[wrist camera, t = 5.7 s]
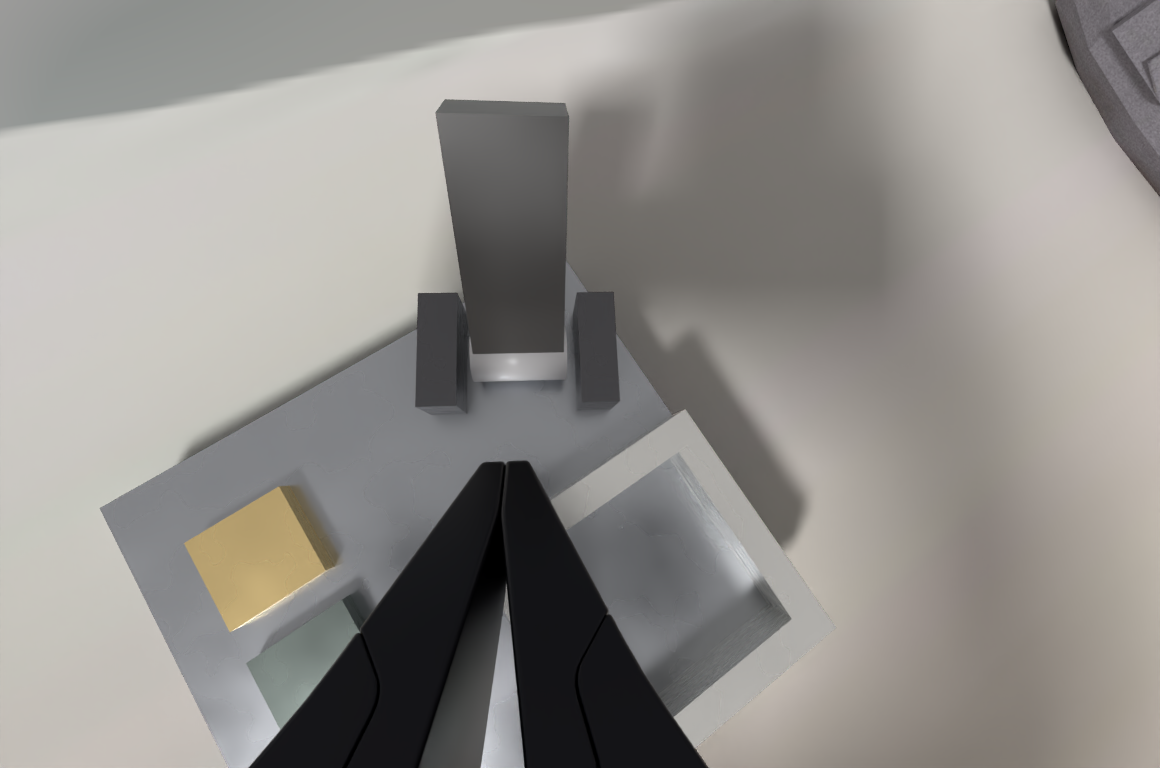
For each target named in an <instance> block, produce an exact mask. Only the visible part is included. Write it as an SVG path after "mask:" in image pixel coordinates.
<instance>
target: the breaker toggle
mask: <svg viewBox="0 0 1160 768" xmlns="http://www.w3.org/2000/svg"><path fill="white" fill-rule="evenodd" d="M436 119H437V126H438V132H439V139H440V145H441V152H442V158H443V165H444V171H445V178H446V184H447V191H448V197H449V204H450V210H451V216H452V223H453V229H454V236H455V242H456V249H457V255H458V262H459V268H460V275H461V281H462V288H463V294H464V301H465V307H466V314H467V320H468V327H469V333H470V340H469V356H470V368H471V375H472V379H473V381H474V382H491V381H530V380H566V378H567V338H566V327H565V325H564V322H565V276H566V229H567V182H568V135H569V115H568V112H567V108H566V105H565V103H543V102H511V101H478V100H446V99H445V100H444V101H443V103H442V104H441V106H440V107H439V108H438V110H437V111H436Z"/></svg>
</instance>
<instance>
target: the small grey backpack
mask: <svg viewBox="0 0 1160 768" xmlns="http://www.w3.org/2000/svg"><path fill="white" fill-rule="evenodd" d="M1055 5H1056V8H1057V11H1058V14H1059V17H1060V20H1061V23H1062V26H1063V29H1064V33H1065V36H1066V39H1067V42H1068V45H1069V48H1070V51H1071V54H1072V57H1073V60H1074V63H1075V67H1076V70H1077V72H1078V74H1079V76H1080V78H1081V80H1082V82H1083V84H1084V86H1085V87H1086V89H1087V91H1088V93H1089V95H1090V96H1091V98H1092V100H1093V102H1094V104H1095V105H1096V107H1097V109H1098V111H1099V113H1100V115H1101V116H1102V118H1103V120H1104V122H1105V124H1106V125H1107V127H1108V129H1109V131H1110V133H1111V134H1112V136H1113V138H1114V139H1115V141H1116V142H1117V143H1118V145H1119V146H1120V147H1121V148H1122V150H1123V151H1124V152H1125V153H1126V155H1127V156H1128V157H1129V158H1130V160H1131V161H1132V162H1133V163H1134V165H1135V166H1136V167H1137V168H1138V170H1139V171H1140V172H1141V174H1142V175H1143V176H1144V177H1145V179H1146V180H1147V181H1148V182H1149V184H1150V185H1151V186H1152V187H1153V189H1154V190H1155V191H1156V192H1157V193H1158V195H1159V196H1160V0H1056V2H1055Z"/></svg>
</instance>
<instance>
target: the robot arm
mask: <svg viewBox="0 0 1160 768" xmlns="http://www.w3.org/2000/svg"><path fill="white" fill-rule="evenodd" d="M506 584H507V594H508V605H509V615H510V625H511V635H512V645H513V656H514V666H515V676H516V686H517V696H518V706H519V717H520V727H521V737H522V747H523V757H524V768H708V766H707V765H706V763H705V762H704V760H703V759H702V758H701V756H700V755H699V753H698V752H697V750H696V749H695V748H694V746H693V745H692V743H691V742H690V740H689V739H688V737H687V736H686V735H685V733H684V732H683V730H682V729H681V727H680V726H679V724H678V723H677V722H676V720H675V719H674V717H673V716H672V714H671V713H670V712H669V710H668V709H667V707H666V705H665V704H664V702H663V701H662V699H661V698H660V696H659V695H658V693H657V692H656V690H655V689H654V687H653V686H652V684H651V683H650V681H649V679H648V678H647V676H646V675H645V673H644V672H643V670H642V668H641V667H640V665H639V663H638V661H637V660H636V658H635V656H634V654H633V653H632V651H631V649H630V648H629V646H628V644H627V642H626V641H625V639H624V637H623V635H622V633H621V631H620V630H619V628H618V626H617V624H616V622H615V620H614V618H613V617H612V615H611V614H609V610H608V608H607V606H606V604H605V602H604V600H603V598H602V596H601V595H600V593H599V591H598V589H597V587H596V585H595V583H594V582H593V580H592V578H591V576H590V574H589V572H588V570H587V568H586V567H585V565H584V563H583V561H582V559H581V557H580V555H579V553H578V552H577V550H576V548H575V546H574V544H573V542H572V540H571V538H570V537H569V535H568V533H567V531H566V529H565V527H564V525H563V523H562V522H561V520H560V518H559V516H558V514H557V512H556V510H555V509H554V507H553V505H552V503H551V501H550V499H549V497H548V495H547V494H546V492H545V490H544V488H543V486H542V484H541V482H540V480H539V479H538V477H537V475H536V473H535V471H534V469H533V467H532V465H531V464H530V462H529V461H527V460H519V461H508V462H507V463H506V465H505V463H504V462H503V461H495V462H483V463H481V464H480V466H479V467H478V468H477V470H476V471H475V472H474V474H473V475H472V476H471V478H470V479H469V481H468V482H467V483H466V485H465V486H464V487H463V489H462V490H461V491H460V493H459V494H458V495H457V497H456V498H455V500H454V501H453V502H452V504H451V505H450V506H449V508H448V509H447V510H446V512H445V513H444V515H443V516H442V517H441V519H440V520H439V521H438V523H437V524H436V525H435V527H434V528H433V529H432V531H431V532H430V534H429V535H428V536H427V538H426V539H425V540H424V542H423V543H422V544H421V546H420V547H419V549H418V550H417V551H416V553H415V554H414V555H413V557H412V558H411V559H410V561H409V562H408V563H407V565H406V566H405V568H404V569H403V570H402V572H401V573H400V574H399V576H398V577H397V578H396V580H395V581H394V583H393V584H392V585H391V587H390V588H389V589H388V591H387V592H386V593H385V595H384V596H383V597H382V599H381V600H380V602H379V603H378V604H377V606H376V607H375V608H374V610H373V611H372V612H371V614H370V615H369V617H368V618H367V619H366V621H365V622H364V623H363V625H362V626H361V628H360V632H361V633H356V634H355V635H354V636H353V638H352V639H351V641H350V642H349V643H348V645H347V646H346V647H345V649H344V650H343V652H342V653H341V654H340V656H339V657H338V658H337V660H336V661H335V662H334V664H333V665H332V666H331V668H330V669H329V670H328V671H327V673H326V674H325V675H324V677H323V678H322V679H321V681H320V682H319V683H318V684H317V686H316V687H315V688H314V690H313V691H312V692H311V693H310V695H309V696H308V697H307V699H306V700H305V701H304V702H303V704H302V705H301V706H300V707H299V708H298V710H297V711H296V712H295V713H294V714H293V715H292V717H291V718H290V719H289V720H288V721H287V723H286V724H285V725H284V726H283V727H282V729H281V730H280V731H279V732H278V733H277V734H276V736H275V737H274V738H273V739H272V740H271V742H270V743H269V744H268V745H267V746H266V748H265V749H264V750H263V751H262V752H261V753H260V754H259V756H258V757H257V758H256V759H255V760H254V761H253V763H252V764H251V765H250V766H249V767H248V768H481V762H482V755H483V748H484V741H485V734H486V727H487V720H488V713H489V706H490V699H491V692H492V685H493V678H494V671H495V664H496V657H497V650H498V643H499V636H500V629H501V622H502V615H503V608H504V601H505V593H506Z"/></svg>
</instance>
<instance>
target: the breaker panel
mask: <svg viewBox="0 0 1160 768" xmlns="http://www.w3.org/2000/svg"><path fill="white" fill-rule="evenodd" d="M564 325H565V327H566V338H567V378H566V380H530V381H491V382H474V381H473V379H472V375H471V368H470V356H469V340H470V333H469V327H468V320H467V314H466V307H465V302H463V303H462V302H461V300H460V298H459V296H458V294H457V293H418V317H417V329H416V330H414V331H412V332H410V333H409V334H407V335H405V336H403V337H401V338H400V339H398V340H396V341H394V342H393V343H391V344H389V345H387V346H386V347H384V348H382V349H380V350H378V351H377V352H375V353H373V354H371V355H370V356H368V357H366V358H364V359H363V360H361V361H359V362H357V363H356V364H354V365H352V366H350V367H348V368H347V369H345V370H343V371H341V372H340V373H338V374H336V375H334V376H333V377H331V378H329V379H327V380H325V381H324V382H322V383H320V384H318V385H317V386H315V387H313V388H311V389H310V390H308V391H306V392H304V393H302V394H301V395H299V396H297V397H295V398H294V399H292V400H290V401H288V402H287V403H285V404H283V405H281V406H280V407H278V408H276V409H274V410H272V411H271V412H269V413H267V414H265V415H264V416H262V417H260V418H258V419H257V420H255V421H253V422H251V423H249V424H248V425H246V426H244V427H242V428H241V429H239V430H237V431H235V432H234V433H232V434H230V435H228V436H227V437H225V438H223V439H221V440H219V441H218V442H216V443H214V444H212V445H211V446H209V447H207V448H205V449H204V450H202V451H200V452H198V453H196V454H195V455H193V456H191V457H189V458H188V459H186V460H184V461H182V462H181V463H179V464H177V465H175V466H173V467H172V468H170V469H168V470H166V471H165V472H163V473H161V474H159V475H158V476H156V477H154V478H152V479H151V480H149V481H147V482H145V483H143V484H142V485H140V486H138V487H136V488H135V489H133V490H131V491H129V492H128V493H126V494H124V495H122V496H120V497H119V498H117V499H115V500H113V501H112V502H110V503H108V504H106V505H105V506H103V507H101V508H100V510H101V512H102V514H103V516H104V518H105V520H106V522H107V524H108V526H109V528H110V530H111V532H112V534H113V536H114V538H115V540H116V542H117V544H118V546H119V548H120V550H121V552H122V554H123V556H124V558H125V560H126V562H127V564H128V566H129V568H130V570H131V572H132V574H133V576H134V578H135V580H136V582H137V584H138V586H139V588H140V590H141V592H142V594H143V596H144V598H145V600H146V602H147V604H148V606H149V609H150V611H151V613H152V615H153V617H154V619H155V621H156V623H157V625H158V627H159V629H160V631H161V633H162V635H163V637H164V639H165V641H166V643H167V645H168V647H169V649H170V651H171V653H172V655H173V657H174V659H175V661H176V663H177V665H178V667H179V669H180V671H181V673H182V675H183V677H184V679H185V681H186V683H187V685H188V687H189V689H190V691H191V693H192V695H193V697H194V699H195V701H196V703H197V705H198V707H199V709H200V711H201V713H202V715H203V717H204V719H205V721H206V723H207V725H208V727H209V729H210V731H211V733H212V735H213V737H214V739H215V741H216V743H217V745H218V747H219V749H220V751H221V753H222V755H223V758H224V760H225V762H226V764H227V766H228V768H248V767H249V766H250V765H251V764H252V763H253V761H254V760H255V759H256V758H257V757H258V756H259V754H260V753H261V752H262V751H263V750H264V749H265V748H266V746H267V745H268V744H269V743H270V742H271V740H272V739H273V738H274V737H275V736H276V734H277V733H278V732H279V731H280V730H281V729H282V727H283V726H284V725H285V724H286V723H287V721H288V720H289V719H290V718H291V717H292V715H293V714H294V713H295V712H296V711H297V710H298V708H299V707H300V706H301V705H302V704H303V702H304V701H305V700H306V699H307V697H308V696H309V695H310V693H311V692H312V691H313V690H314V688H315V687H316V686H317V684H318V683H319V682H320V681H321V679H322V678H323V677H324V675H325V674H326V673H327V671H328V670H329V669H330V668H331V666H332V665H333V664H334V662H335V661H336V660H337V658H338V657H339V656H340V654H341V653H342V652H343V650H344V649H345V647H346V646H347V645H348V643H349V642H350V641H351V639H352V638H353V636H354V635H355V634H356V633H361V632H360V628H361V626H362V625H363V623H364V622H365V621H366V619H367V618H368V617H369V615H370V614H371V612H372V611H373V610H374V608H375V607H376V606H377V604H378V603H379V602H380V600H381V599H382V597H383V596H384V595H385V593H386V592H387V591H388V589H389V588H390V587H391V585H392V584H393V583H394V581H395V580H396V578H397V577H398V576H399V574H400V573H401V572H402V570H403V569H404V568H405V566H406V565H407V563H408V562H409V561H410V559H411V558H412V557H413V555H414V554H415V553H416V551H417V550H418V549H419V547H420V546H421V544H422V543H423V542H424V540H425V539H426V538H427V536H428V535H429V534H430V532H431V531H432V529H433V528H434V527H435V525H436V524H437V523H438V521H439V520H440V519H441V517H442V516H443V515H444V513H445V512H446V510H447V509H448V508H449V506H450V505H451V504H452V502H453V501H454V500H455V498H456V497H457V495H458V494H459V493H460V491H461V490H462V489H463V487H464V486H465V485H466V483H467V482H468V481H469V479H470V478H471V476H472V475H473V474H474V472H475V471H476V470H477V468H478V467H479V466H480V464H481V463H483V462H495V461H503V462H504V463H505V465H506V463H507V462H508V461H519V460H527V461H529V462H530V464H531V465H532V467H533V469H534V471H535V473H536V475H537V477H538V479H539V480H540V482H541V484H542V486H543V488H544V490H545V492H546V494H547V495H548V497H549V499H550V501H551V503H552V505H553V507H554V509H555V510H556V512H557V514H558V516H559V518H560V520H561V522H562V523H563V525H564V527H565V529H566V531H567V533H568V535H569V537H570V538H571V540H572V542H573V544H574V546H575V548H576V550H577V552H578V553H579V555H580V557H581V559H582V561H583V563H584V565H585V567H586V568H587V570H588V572H589V574H590V576H591V578H592V580H593V582H594V583H595V585H596V587H597V589H598V591H599V593H600V595H601V596H602V598H603V600H604V602H605V604H606V606H607V608H608V610H609V614H611V615H612V617H613V618H614V620H615V622H616V624H617V626H618V628H619V630H620V631H621V633H622V635H623V637H624V639H625V641H626V642H627V644H628V646H629V648H630V649H631V651H632V653H633V654H634V656H635V658H636V660H637V661H638V663H639V665H640V667H641V668H642V670H643V672H644V673H645V675H646V676H647V678H648V679H649V681H650V683H651V684H652V686H653V687H654V689H655V690H656V692H657V693H658V695H659V696H660V698H661V699H662V701H663V702H664V704H665V705H666V707H667V709H668V710H669V712H670V713H671V714H672V716H673V717H674V719H675V720H676V722H677V723H678V724H679V726H680V727H681V729H682V730H683V732H684V733H685V735H686V736H687V737H688V739H689V740H690V742H691V743H692V745H693V746H694V748H696V747H697V746H698V745H699V744H701V743H702V742H703V741H704V740H705V739H706V738H708V737H709V736H710V735H711V734H712V733H713V732H715V731H716V730H717V729H718V728H719V727H721V726H722V725H723V724H724V723H725V722H726V721H728V720H729V719H730V718H731V717H732V716H733V715H735V714H736V713H737V712H738V711H739V710H740V709H742V708H743V707H744V706H745V705H746V704H747V703H749V702H750V701H751V700H752V699H753V698H755V697H756V696H757V695H758V694H759V693H760V692H762V691H763V690H764V689H765V688H766V687H767V686H769V685H770V684H771V683H772V682H773V681H774V680H776V679H777V678H778V677H779V676H780V675H781V674H783V673H784V672H785V671H786V670H787V669H789V668H790V667H791V666H792V665H793V664H794V663H796V662H797V661H798V660H799V659H800V658H801V657H803V656H804V655H805V654H806V653H807V652H808V651H810V650H811V649H812V648H813V647H814V646H815V645H817V644H818V643H819V642H820V641H821V640H822V639H824V638H825V637H826V636H827V635H828V634H830V633H831V632H832V631H833V630H834V629H835V628H836V626H835V625H834V624H833V622H832V621H831V619H830V618H829V616H828V615H827V613H826V612H825V611H824V609H823V608H822V606H821V605H820V603H819V602H818V600H817V599H816V597H815V596H814V595H813V593H812V592H811V590H810V589H809V587H808V586H807V584H806V583H805V582H804V580H803V579H802V577H801V576H800V574H799V573H798V571H797V570H796V569H795V567H794V566H793V564H792V563H791V561H790V560H789V558H788V557H787V556H786V554H785V553H784V551H783V550H782V548H781V547H780V545H779V544H778V542H777V541H776V540H775V538H774V537H773V535H772V534H771V532H770V531H769V529H768V528H767V527H766V525H765V524H764V522H763V521H762V519H761V518H760V516H759V515H758V514H757V512H756V511H755V509H754V508H753V506H752V505H751V503H750V502H749V501H748V499H747V498H746V496H745V495H744V493H743V492H742V490H741V489H740V488H739V486H738V485H737V483H736V482H735V480H734V479H733V477H732V476H731V474H730V473H729V472H728V470H727V469H726V467H725V466H724V464H723V463H722V461H721V460H720V459H719V457H718V456H717V454H716V453H715V451H714V450H713V448H712V447H711V446H710V444H709V443H708V441H707V440H706V438H705V437H704V435H703V434H702V433H701V431H700V430H699V428H698V427H697V425H696V424H695V422H694V421H693V419H692V418H691V417H690V415H689V414H688V412H687V411H686V409H684V410H682V411H679V412H677V413H675V414H671V412H670V411H669V409H668V408H667V407H666V405H665V404H664V402H663V401H662V399H661V398H660V396H659V395H658V393H657V392H656V391H655V389H654V388H653V386H652V385H651V383H650V382H649V380H648V379H647V377H646V376H645V374H644V373H643V372H642V370H641V369H640V367H639V366H638V364H637V363H636V361H635V360H634V358H633V357H632V356H631V354H630V353H629V351H628V350H627V348H626V347H625V345H624V344H623V342H622V341H621V339H620V338H619V337H618V335H617V334H616V324H615V308H614V292H588V291H587V290H586V288H585V287H584V286H583V284H582V283H581V281H580V280H579V278H578V277H577V275H576V274H575V272H574V271H573V269H572V268H571V267H570V265H569V264H568V262H567V261H566V276H565V322H564ZM481 768H524V757H523V747H522V737H521V727H520V717H519V706H518V696H517V686H516V676H515V666H514V656H513V645H512V635H511V625H510V615H509V605H508V594H507V584H506V593H505V601H504V608H503V615H502V622H501V629H500V636H499V643H498V650H497V657H496V664H495V671H494V678H493V685H492V692H491V699H490V706H489V713H488V720H487V727H486V734H485V741H484V748H483V755H482V762H481Z"/></svg>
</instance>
